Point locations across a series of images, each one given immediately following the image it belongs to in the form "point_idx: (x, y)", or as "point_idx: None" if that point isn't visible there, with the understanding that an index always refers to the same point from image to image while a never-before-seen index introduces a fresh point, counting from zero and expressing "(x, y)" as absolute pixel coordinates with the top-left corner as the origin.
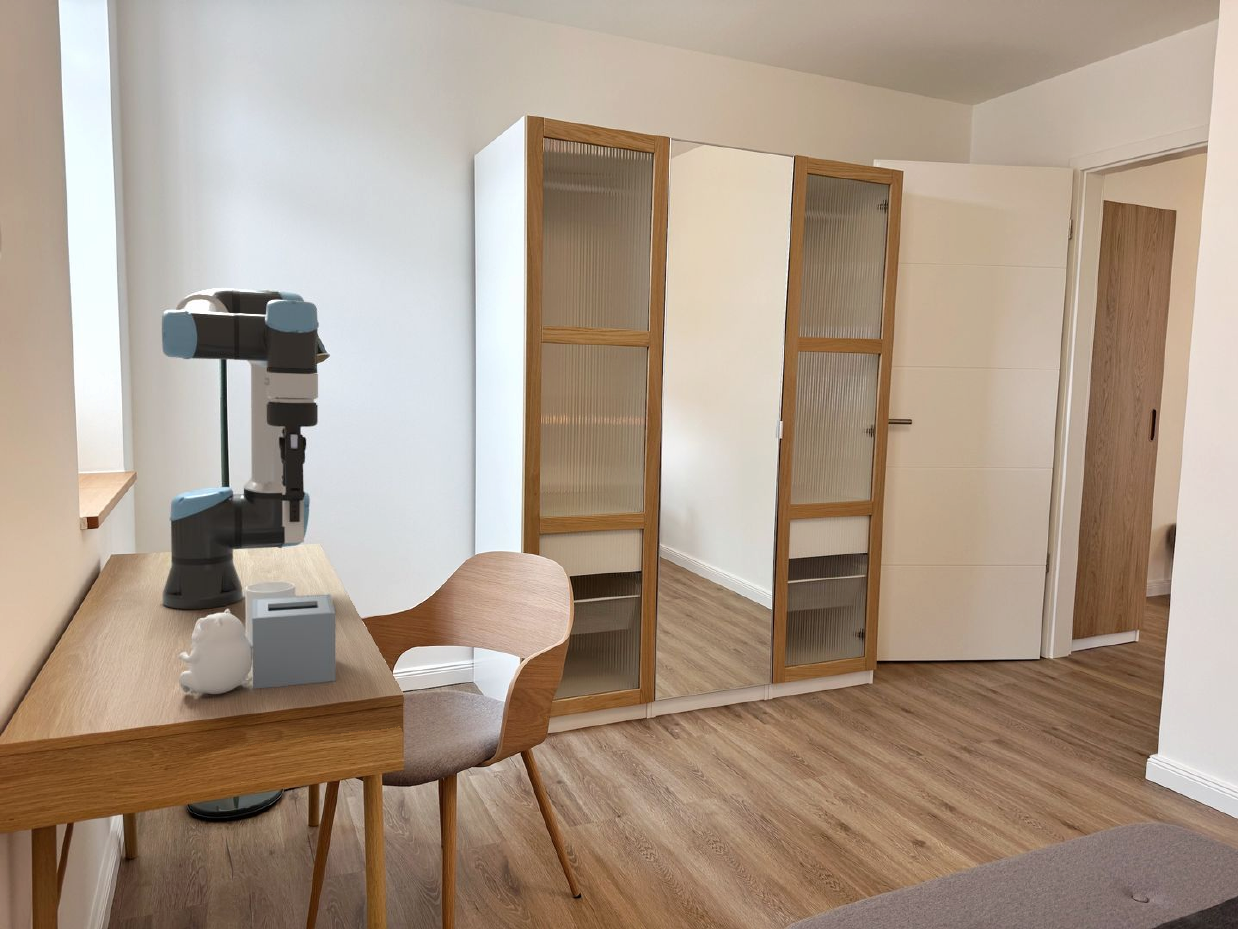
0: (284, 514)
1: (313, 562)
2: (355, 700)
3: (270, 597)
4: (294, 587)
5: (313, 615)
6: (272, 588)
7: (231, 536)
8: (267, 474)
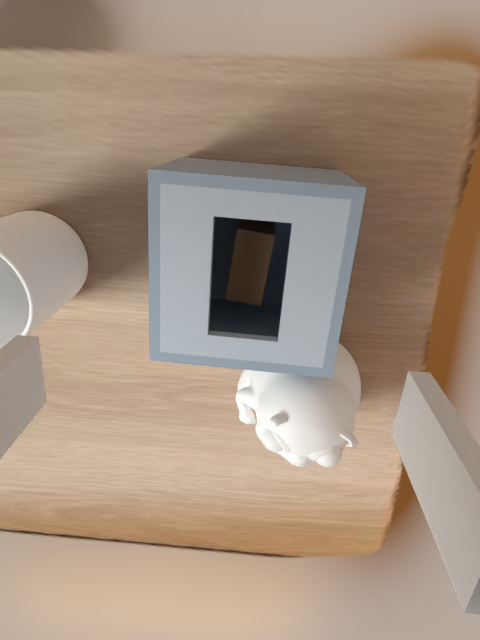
0: (17, 429)
1: None
2: (469, 150)
3: (39, 299)
4: None
5: (355, 246)
6: None
7: None
8: None
